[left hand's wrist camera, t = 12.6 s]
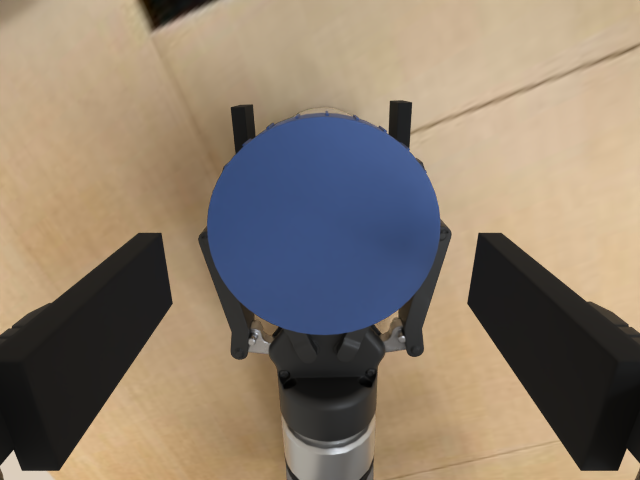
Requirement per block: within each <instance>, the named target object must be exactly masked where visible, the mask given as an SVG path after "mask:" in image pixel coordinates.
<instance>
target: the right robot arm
mask: <svg viewBox="0 0 640 480" xmlns="http://www.w3.org/2000/svg"><path fill="white" fill-rule="evenodd" d="M411 111H412V102H407V101H403V100H402V101H390V114H389V135H390V136H392V137H393V138H394V139H396V140H397V141H398V142H400V143H403V144H404V145H405V146H407V147H408V148H409V145H410V128H411ZM231 114H232V124H233V133H234V142H235V152H236V154H237V153H238V152H239V151H240V150H241V149H242V148H243V146H242V145H243V144H244V143H245V142H246V141H248V140H249V139H250V138H251V139H253V138H255V137H256V136H255V125H254V113H253V105H238V106H234V107H231ZM416 160H417V161H418V162H419V163H420V165H421V166H422V167H423V169H424V166H423V163H422V162H421V161H420V160H419V159H417V158H416ZM223 170H224V167H223ZM424 170H425V169H424ZM222 172H223V171H222ZM450 239H451V231H450V229H449V228H448V227H447V226H446V225H445V224H444V222H443V221H442V220H441V219H440V239H439V244H438V250H437V253H436V256H435V259H434V262H433V265H432V267H431V269H430V271H429V273H428V275H427V277H426V279H425V280H424V282H423V283H422V285H421V287H420V288H419V289H418V290H417V292H416V293H415V294H414V295H413V296H412V298H411V299H410V300H409V301H407V302H406V303H405V304H404V305H403V306H402V307H401V308H400V309H399V311H398V315H399V318H398V317H396V318H394V319H393V320H392V322H391V324H390V328H389V330H388V331H387V332H386V333H384V334H381V332H380V331H379V330H378V329H377V328H376V327H375V325H374V324H373V325H371V326H368V327H366V328H363V329H360V330H356V331H353V332H348V333H342V334H333V335H314V334H305V333H299V332H295V331H291V330H287V329H284V328H281V327H278V328H277V330H276V331H275V332H274V334H273V335H272V336H270V335H268V334H266V333H265V332H264V329H263V326H262V325H261V323H260V321H259V320H254V313H253V312H252V311H250V310H249V309H248V308H246V307H245V306H244V305H243V304H242V303H241V302H240V301H239V300H238V299H237V298H236V297H235V296H234V295H233V294H232V293H231V291H230V290H229V289H228V287H227V286H226V284H225V283H224V282H223V280H222V278H221V277H220V275H219V273H218V271H217V269H216V267H215V264H214V261H213V258H212V255H211V252H210V247H209V242H208V232H207V227H206V228H205V229H204V230H203V232H202V233H201V234H200V235H199V238H198V240H199V244H200V247H201V250H202V252H203V255H204V258H205V260H206V263H207V266H208V269H209V271H210V274H211V277H212V280H213V282H214V285H215V288H216V291H217V293H218V296H219V299H220V301H221V304H222V307H223V310H224V312H225V315H226V318H227V321H228V323H229V326H230V329H231V331H232V337H231V355H232V356H233V357H234V358H235V359H238V360H240V359H244V358H246V357H247V354H248V352H253V353H263V354H269V356H270V358H271V360H272V361H273V362H274V364H275V365H276V367H277V372H278V384H279V396H280V407H281V413H282V416H281V421H282V431H283V441H284V451H285V461H286V475H287V480H373V461H374V450H375V428H376V412H375V411H376V397H377V370H378V365H379V363H380V361H381V360H382V358H383V357H384V355H385V352H392V351H399V350H407V353H408V354H409V355H410V356H412V357H417V356H420V355H421V354H422V353H423V351H424V345H423V335H422V327H423V324H424V321H425V317H426V314H427V311H428V308H429V305H430V302H431V299H432V295H433V292H434V289H435V286H436V283H437V280H438V277H439V273H440V270H441V267H442V264H443V261H444V258H445V255H446V251H447V248H448V245H449V242H450Z"/></svg>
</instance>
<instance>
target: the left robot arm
mask: <svg viewBox="0 0 640 480" xmlns="http://www.w3.org/2000/svg"><path fill="white" fill-rule="evenodd" d="M172 304H173V303H172V297H171V290H170V284H169V278H168V272H167V265H166V259H165V253H164V247H163V240H162V234H161V233H138V234H137V235H136V236H134V237H133V238H132V239H131V240H129V241H128V242H127V243H126V244H124V245H123V246H122V247H121V248H119V249H118V250H117V251H116V252H115V253H113V254H112V255H111V256H110V257H108V258H107V259H106V260H105V261H103V262H102V263H101V264H100V265H98V266H97V267H96V268H95V269H93V270H92V271H91V272H90V273H88V274H87V275H86V276H85V277H84V278H82V279H81V280H80V281H79V282H77V283H76V284H75V285H74V286H72V287H71V288H70V289H69V290H67V291H66V292H65V293H64V294H62V295H61V296H60V297H59V298H57V299H56V300H55V301H54V302H53V303H48V304H46V305H44V306H42V307H40V308H38V309H36V310H34V311H32V312H30V313H28V314H27V315H26V316H24V317H23V318H22V319H20V320H19V321H18V322H17V323H15V324H14V325H13V326H12V329H8V330H6V331H5V332H4V333H2V334H1V335H0V465H1V464H2V463H3V462H4V460H5V459H6V458H7V457H8V456H9V454H10V453H11V452H12V451H13V450H14V452H15V454H16V457H17V459H18V462H19V464H20V467H21V469H22V471H59V470H60V469H61V467H62V466H63V464H64V463H65V461H66V460H67V458H68V457H69V455H70V454H71V452H72V451H73V450H74V448H75V447H76V445H77V444H78V442H79V441H80V439H81V438H82V436H83V435H84V433H85V432H86V430H87V429H88V427H89V426H90V425H91V423H92V422H93V420H94V419H95V417H96V416H97V414H98V413H99V411H100V410H101V408H102V407H103V405H104V404H105V402H106V401H107V399H108V398H109V397H110V395H111V394H112V392H113V391H114V389H115V388H116V386H117V385H118V383H119V382H120V380H121V379H122V377H123V376H124V374H125V373H126V372H127V370H128V369H129V367H130V366H131V364H132V363H133V361H134V360H135V358H136V357H137V355H138V354H139V352H140V351H141V349H142V348H143V347H144V345H145V344H146V342H147V341H148V339H149V338H150V336H151V335H152V333H153V332H154V330H155V329H156V327H157V326H158V324H159V323H160V321H161V320H162V319H163V317H164V316H165V314H166V313H167V311H168V310H169V308H170V307H171V305H172ZM467 304H468V305H469V307H470V308H471V310H472V311H473V313H474V314H475V316H476V317H477V319H478V320H479V321H480V323H481V324H482V326H483V327H484V329H485V330H486V332H487V333H488V335H489V336H490V338H491V339H492V341H493V342H494V344H495V345H496V347H497V348H498V349H499V351H500V352H501V354H502V355H503V357H504V358H505V360H506V361H507V363H508V364H509V366H510V367H511V369H512V370H513V372H514V373H515V374H516V376H517V377H518V379H519V380H520V382H521V383H522V385H523V386H524V388H525V389H526V391H527V392H528V394H529V395H530V397H531V398H532V399H533V401H534V402H535V404H536V405H537V407H538V408H539V410H540V411H541V413H542V414H543V416H544V417H545V419H546V420H547V422H548V423H549V425H550V426H551V427H552V429H553V430H554V432H555V433H556V435H557V436H558V438H559V439H560V441H561V442H562V444H563V445H564V447H565V448H566V450H567V451H568V452H569V454H570V455H571V457H572V458H573V460H574V461H575V463H576V464H577V466H578V467H579V469H580V470H581V471H618V469H619V467H620V464H621V462H622V459H623V457H624V454H625V452H626V449H628V450H629V451H630V452H631V453H632V455H633V456H634V457H635V458H636V459H637V461H638V462H639V463H640V333H639V332H637V331H636V330H635V329H634V328H632V327H629V326H628V324H627V323H626V322H624V321H623V320H622V319H621V318H619V317H618V316H617V315H615V314H614V313H613V312H611V311H609V310H607V309H605V308H603V307H601V306H599V305H597V304H595V303H593V302H586V301H585V300H584V299H583V298H581V297H580V296H579V295H578V294H576V293H575V292H574V291H573V290H571V289H570V288H569V287H568V286H566V285H565V284H564V283H563V282H561V281H560V280H559V279H558V278H556V277H555V276H554V275H553V274H552V273H550V272H549V271H548V270H547V269H545V268H544V267H543V266H542V265H540V264H539V263H538V262H537V261H535V260H534V259H533V258H532V257H530V256H529V255H528V254H527V253H525V252H524V251H523V250H522V249H521V248H519V247H518V246H517V245H516V244H514V243H513V242H512V241H511V240H509V239H508V238H507V237H506V236H504V235H503V234H502V233H479V234H478V240H477V247H476V253H475V259H474V265H473V272H472V278H471V284H470V290H469V296H468V303H467ZM0 480H4V479H3V474H2V472H1V469H0ZM635 480H640V469H639V472H638V474H637V476H636V479H635Z"/></svg>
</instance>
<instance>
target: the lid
mask: <svg viewBox="0 0 640 480" xmlns="http://www.w3.org/2000/svg"><path fill="white" fill-rule="evenodd" d="M386 132H387V131H386V130H385V129H384V128H382V127H381V126H379V127H377V126H375V125H373V124H371V123H369V122H367V121H364V120H361V119H359V118H358V117H357V116H356V115H353V117H352V116H348V115H342V114H337V113H328V111H325V113H312V114H304V115H300V113H299V114H297V115H296V116H295V117H292V118H289V119H286V120H284V121H281V122H278V123H277V124H275V125H274V123H272V124H270V125H269V126H268V127H267V129H266V130H264V131H263V132H261V133H260V134H259V135H257V136H256V137H255V138H253V139H251V138H250V139H249V140H248V141H246V142H245V143H244V144H243V145H242V146H243V148H242V149H241V150H240V151H239V152H238V153H237V154H236V155H235V156H234V157H233V158H232V159H231V161H230V162H228V163H227V164H226V165H225V166H224V170H223V172H222V174H221V175H220V177H219V179H218V181H217V183H216V185H215V188H214V190H213V192H212V196H211V200H210V205H209V209H208V219H207V232H208V242H209V247H210V252H211V255H212V258H213V261H214V264H215V267H216V269H217V271H218V273H219V275H220V277H221V278H222V280H223V282H224V283H225V284H226V286H227V287H228V289H229V290H230V291H231V293H232V294H233V295H234V296H235V297H236V298H237V299H238V300H239V301H240V302H241V303H242V304H243V305H244V306H245V307H246V308H248V309H249V310H250V311H252V312H253V313H254V314H256V315H257V316H259V317H260V318H262V319H264V320H266V321H268V322H270V323H272V324H274V325H276V326H279V327H281V328H284V329H287V330H291V331H295V332H299V333H305V334H314V335H333V334H342V333H348V332H353V331H356V330H360V329H363V328H366V327H368V326H371V325H373V324H375V323H378V322H380V321H381V320H383V319H385V318H387V317H388V316H390V315H391V314H393V313H394V312H396V311H397V310H398V309H400V308H401V307H402V306H403V305H404V304H405V303H406V302H407V301H409V300H410V299H411V298H412V296H413V295H414V294H415V293H416V292H417V290H418V289H419V288H420V287H421V285H422V283H423V282H424V280H425V279H426V277H427V275H428V273H429V271H430V269H431V267H432V265H433V262H434V259H435V256H436V253H437V250H438V244H439V239H440V213H439V206H438V202H437V198H436V194H435V191H434V189H433V187H432V184H431V182H430V179H429V178H428V176H427V174H426V173H427V172H426V170H424V169H423V167H422V166H421V165H420V163H419V162H418V161H417V160H416V158H415V157H414V156H413V155H412V154H411V153H410V152H409V150H410V149H409V148H408V147H407V146H405V145H404V144H403V143H400V142H398V141H397V140H396V139H394V138H393V137H392V136H390V135H389V134H387V133H386Z"/></svg>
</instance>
